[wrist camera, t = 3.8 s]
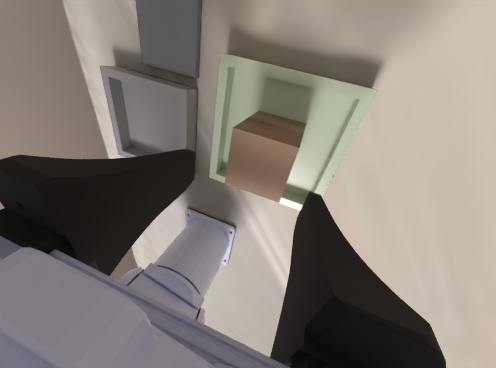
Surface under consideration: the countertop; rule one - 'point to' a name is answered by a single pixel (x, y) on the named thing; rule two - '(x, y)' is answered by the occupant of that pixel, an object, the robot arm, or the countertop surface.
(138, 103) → the grey tray
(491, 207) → the countertop surface
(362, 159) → the countertop surface
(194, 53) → the slate coaster
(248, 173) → the walnut block
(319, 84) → the green tray
